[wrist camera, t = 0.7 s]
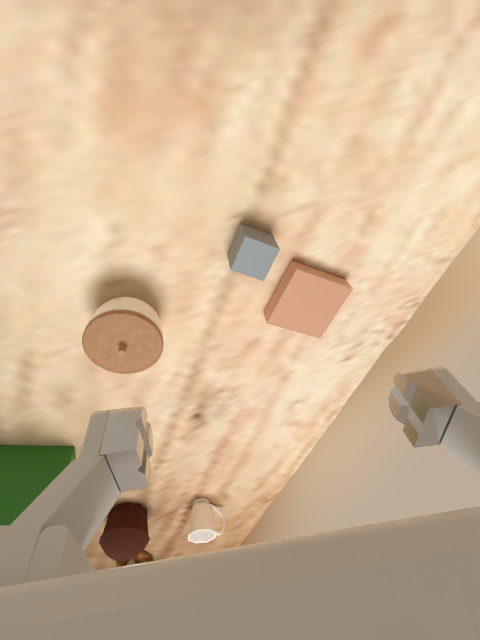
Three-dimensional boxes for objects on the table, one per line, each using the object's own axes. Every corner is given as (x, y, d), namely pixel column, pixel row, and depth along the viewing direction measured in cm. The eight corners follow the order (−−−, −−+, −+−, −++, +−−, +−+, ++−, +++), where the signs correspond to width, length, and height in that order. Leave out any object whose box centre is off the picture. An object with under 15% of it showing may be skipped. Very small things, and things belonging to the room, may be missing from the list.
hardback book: (-18, 467, 70) (-96, 617, 51) (-25, 444, 66) (-113, 598, 47) (76, 467, 74) (37, 607, 55) (74, 446, 70) (31, 588, 51)
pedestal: (291, 260, 52) (296, 269, 50) (345, 279, 56) (352, 288, 53) (263, 312, 57) (267, 323, 55) (314, 327, 61) (320, 338, 58)
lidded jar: (178, 322, 56) (177, 361, 49) (124, 351, 58) (115, 392, 51) (137, 272, 50) (128, 306, 43) (78, 305, 52) (60, 344, 45)
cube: (240, 222, 48) (245, 236, 44) (272, 235, 50) (279, 248, 46) (227, 254, 51) (230, 269, 47) (257, 265, 52) (263, 280, 48)
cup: (194, 493, 86) (195, 527, 79) (229, 499, 89) (233, 532, 83) (182, 507, 89) (182, 541, 82) (216, 513, 92) (219, 546, 86)
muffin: (155, 519, 91) (152, 563, 82) (112, 526, 90) (104, 571, 82) (145, 496, 84) (141, 541, 76) (98, 503, 83) (89, 549, 75)
